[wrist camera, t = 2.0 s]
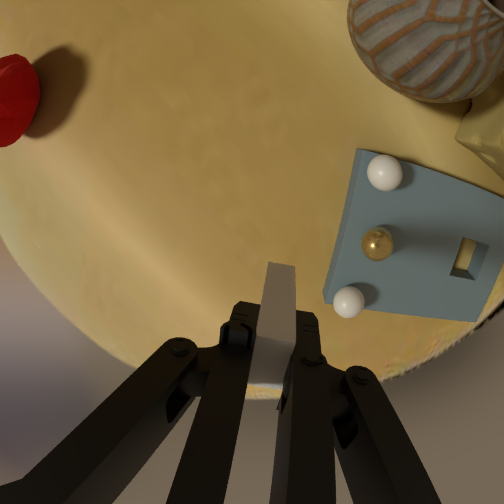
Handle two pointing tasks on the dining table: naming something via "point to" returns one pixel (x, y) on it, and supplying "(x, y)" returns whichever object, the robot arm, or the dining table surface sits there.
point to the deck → (419, 244)
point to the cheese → (486, 126)
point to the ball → (377, 244)
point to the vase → (430, 45)
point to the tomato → (17, 97)
